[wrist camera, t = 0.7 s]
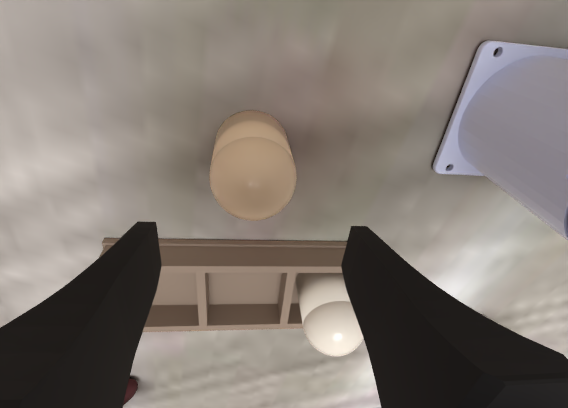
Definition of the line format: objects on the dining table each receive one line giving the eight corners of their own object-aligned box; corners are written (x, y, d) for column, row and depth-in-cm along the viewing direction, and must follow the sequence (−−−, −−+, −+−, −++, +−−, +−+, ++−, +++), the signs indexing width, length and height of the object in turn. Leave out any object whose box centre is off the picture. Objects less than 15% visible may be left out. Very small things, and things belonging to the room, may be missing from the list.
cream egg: (354, 259, 25) (382, 328, 20) (343, 297, 28) (366, 368, 23) (299, 259, 25) (313, 330, 20) (292, 298, 27) (303, 371, 22)
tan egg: (291, 113, 19) (308, 159, 14) (284, 178, 21) (296, 239, 16) (214, 107, 18) (203, 153, 13) (215, 176, 21) (206, 237, 16)
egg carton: (374, 242, 25) (385, 264, 23) (354, 304, 29) (362, 328, 27) (104, 238, 23) (90, 263, 20) (122, 307, 26) (111, 334, 24)
